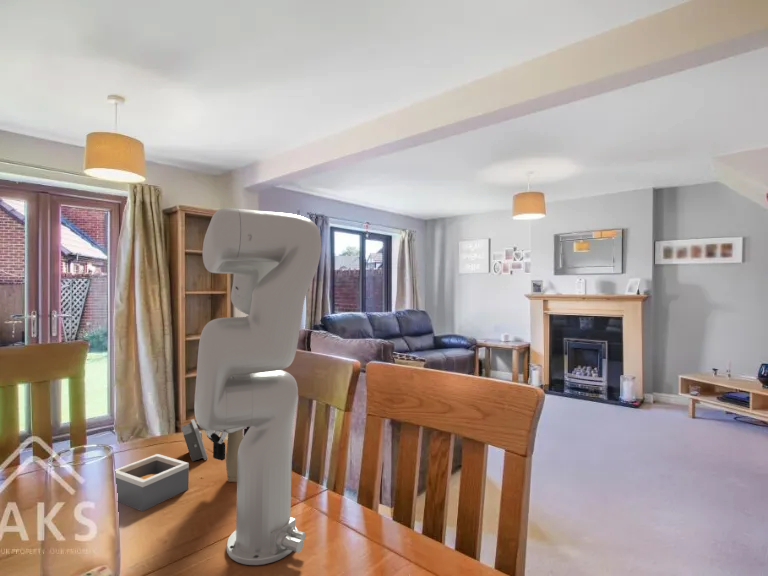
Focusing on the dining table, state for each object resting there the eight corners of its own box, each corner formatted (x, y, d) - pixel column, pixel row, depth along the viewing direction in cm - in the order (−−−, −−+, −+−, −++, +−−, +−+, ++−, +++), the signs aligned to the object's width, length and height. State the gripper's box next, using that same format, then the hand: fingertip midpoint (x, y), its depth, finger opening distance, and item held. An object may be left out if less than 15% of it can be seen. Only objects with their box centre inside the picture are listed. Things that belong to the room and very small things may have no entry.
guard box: (188, 489, 97) (188, 463, 97) (142, 511, 87) (142, 482, 87) (157, 478, 102) (157, 453, 102) (110, 498, 92) (110, 471, 92)
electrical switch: (207, 460, 113) (204, 426, 113) (186, 466, 111) (183, 431, 110) (203, 448, 121) (200, 416, 121) (183, 453, 119) (180, 421, 118)
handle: (234, 487, 98) (235, 423, 98) (217, 479, 102) (218, 417, 102) (251, 479, 102) (252, 418, 102) (234, 472, 106) (235, 412, 106)
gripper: (218, 390, 93) (217, 468, 93) (272, 376, 108) (271, 443, 108) (194, 386, 96) (193, 461, 96) (250, 373, 112) (249, 438, 112)
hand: (234, 451), depth 102 cm, fingers open, 9 cm apart
